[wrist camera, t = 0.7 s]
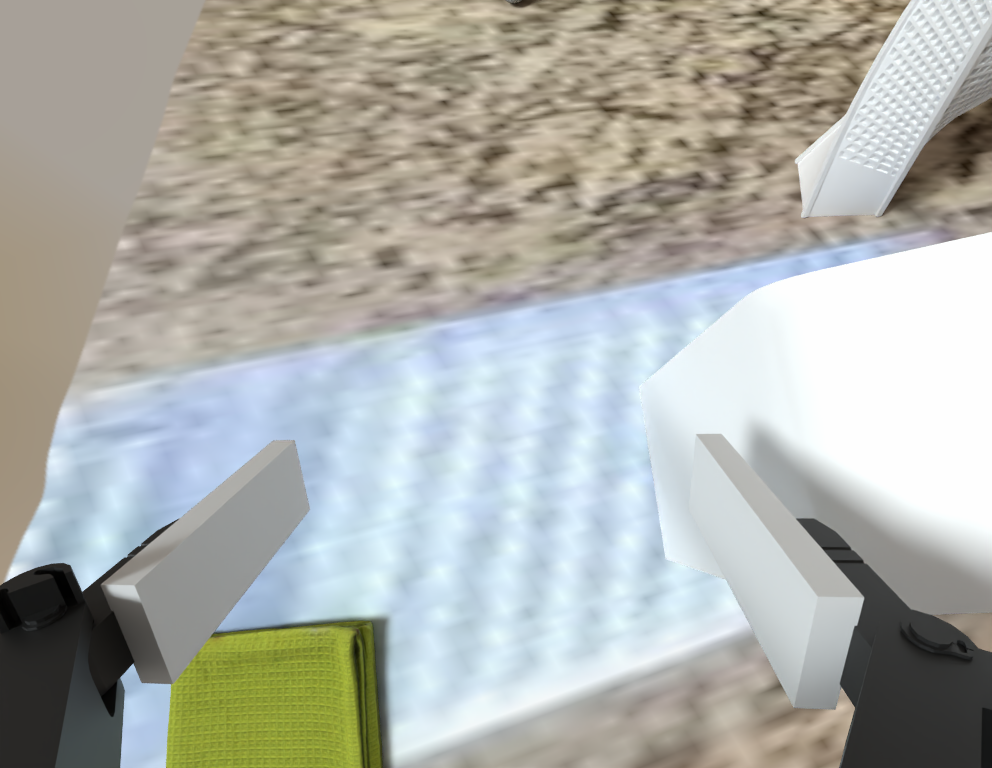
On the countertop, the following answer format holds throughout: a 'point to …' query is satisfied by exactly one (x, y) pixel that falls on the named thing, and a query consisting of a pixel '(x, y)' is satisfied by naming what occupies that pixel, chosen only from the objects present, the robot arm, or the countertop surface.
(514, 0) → the lightbulb
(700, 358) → the milk
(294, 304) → the countertop surface
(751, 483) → the robot arm
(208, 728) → the dish towel
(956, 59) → the skyscraper
